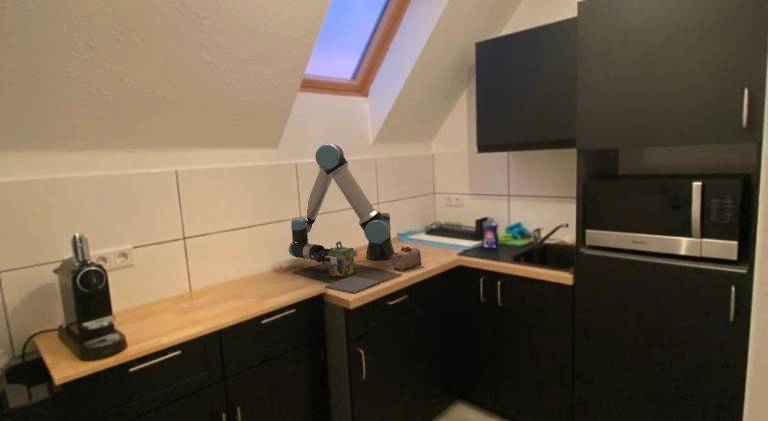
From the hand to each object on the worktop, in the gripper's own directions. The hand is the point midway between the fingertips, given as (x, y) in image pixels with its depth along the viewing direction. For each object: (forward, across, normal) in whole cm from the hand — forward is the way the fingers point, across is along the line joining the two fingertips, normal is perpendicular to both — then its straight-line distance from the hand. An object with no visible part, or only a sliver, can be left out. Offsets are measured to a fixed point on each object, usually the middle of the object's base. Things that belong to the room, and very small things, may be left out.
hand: (347, 257), depth 190 cm
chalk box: (-3, +1, -8) cm, 9 cm away
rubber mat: (+13, +11, -8) cm, 18 cm away
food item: (+17, -22, -8) cm, 29 cm away
